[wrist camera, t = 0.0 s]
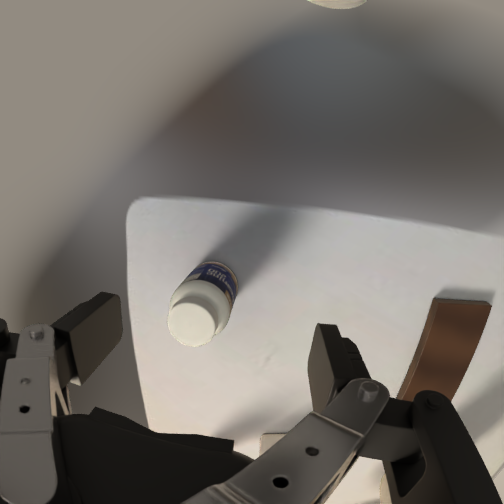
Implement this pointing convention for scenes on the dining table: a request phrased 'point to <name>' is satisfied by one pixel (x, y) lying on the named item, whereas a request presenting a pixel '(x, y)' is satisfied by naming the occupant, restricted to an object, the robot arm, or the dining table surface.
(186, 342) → the pill bottle
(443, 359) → the board
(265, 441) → the pepper shaker
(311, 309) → the dining table surface
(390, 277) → the dining table surface
